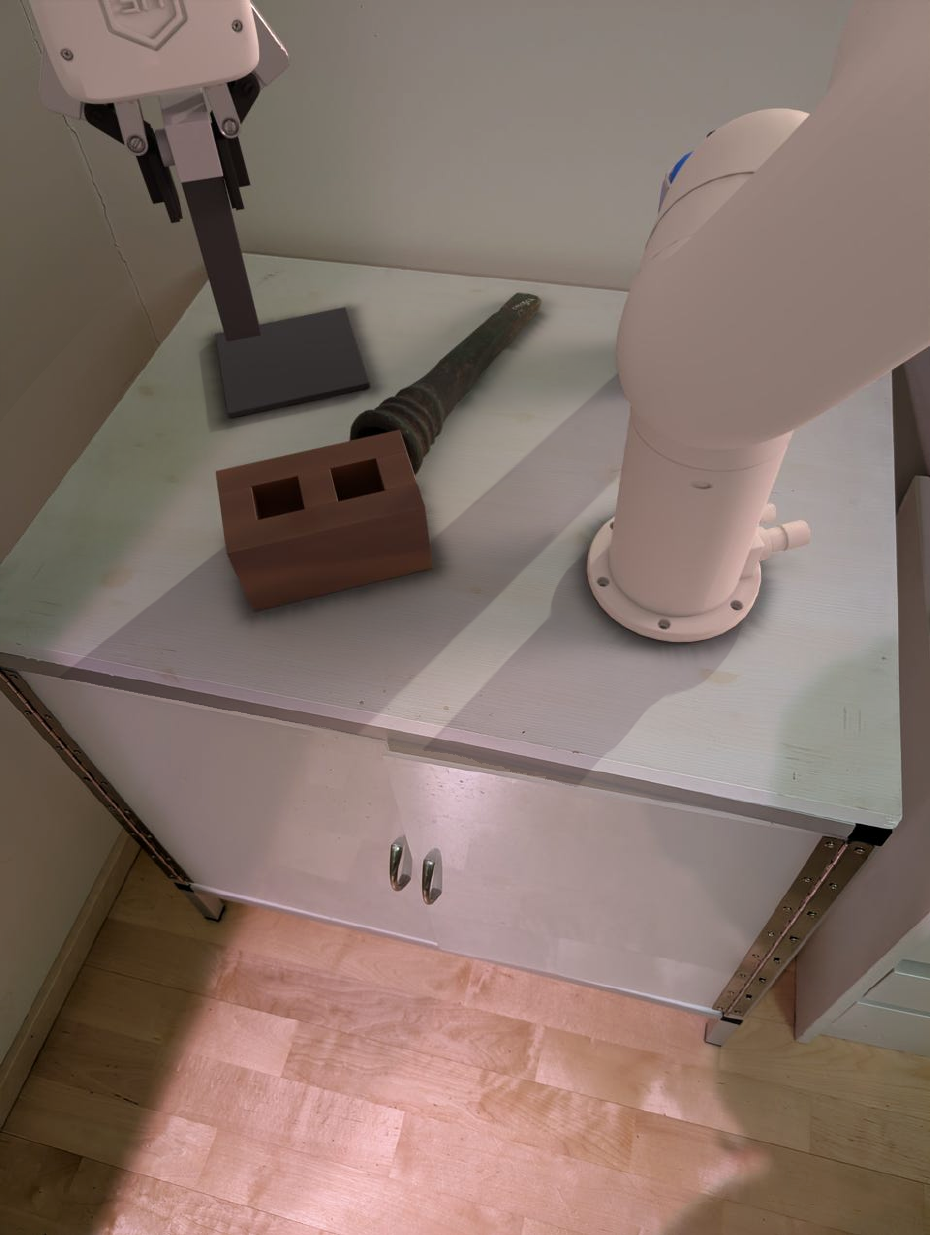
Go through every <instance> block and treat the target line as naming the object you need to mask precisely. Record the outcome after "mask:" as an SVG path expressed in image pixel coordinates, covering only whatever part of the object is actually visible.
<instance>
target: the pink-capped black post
mask: <svg viewBox="0 0 930 1235" xmlns="http://www.w3.org/2000/svg"><path fill="white" fill-rule="evenodd" d="M157 97H158V101H159V108H160V113H161V118H162V123H163V127H162V128H157V129H155V130H154V133H155V136H156V140H157V144H158V148H159V151H160V155H161V158H162V161H163V164H164V166H165V167H168V166H169V167H175V169H176V174H177V177H178V180H179V182H180V184H181V187H182V190H183V194H184V197H185V202H186V204H187V208H188V212H189V214H190V218H191V221H192V225H193V229H194V232H195V236H196V240H197V242H198V247H199V249H200V254H201V258H202V260H203V261H202V262H203V264H204V267H205V272H206V274H207V278H208V281H209V285H210V288H211V292H212V295H213V298H214V302H215V306H216V309H217V313H218V316H219V320H220V323H221V327H222V332H224V334H225V338H226V341H233V340H238V339H244V338H249V337H255V336H260V335H261V330H260V326H259V325H260V323H259V318H258V313H257V310H256V305H255V303H254V302H255V300H254V298H253V293H252V289H251V286H250V281H249V277H248V272H247V269H246V264H245V262H244V261H245V260H244V257H243V252H242V247H241V243H240V239H239V235H238V231H237V228H236V223H235V219H234V215H233V211H232V206H231V202H230V199H229V195H228V192H227V188H226V185H225V181H224V178H223V173H222V169H221V165H220V161H219V157H218V152H217V148H216V144H215V140H214V136H213V132H212V128H211V124H210V123H211V119H210V115H209V113H208V108H207V104H206V101H205V97H204V93H203V89H202V87H201V88H195V89H190V90H184V91H179V92H173V93H168V94H162V95H157Z"/></svg>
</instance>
